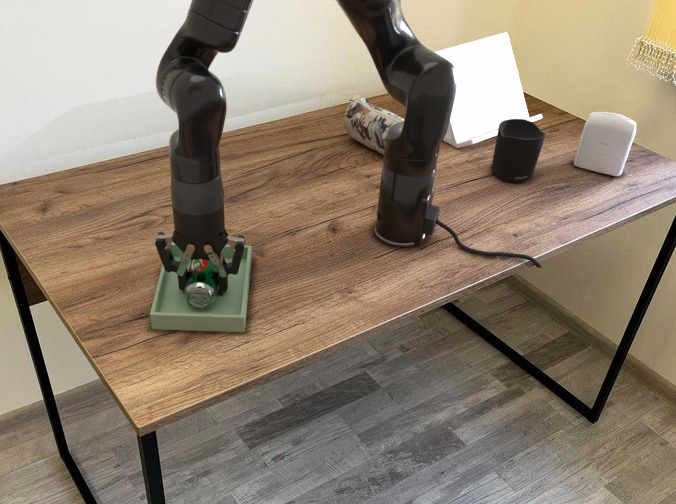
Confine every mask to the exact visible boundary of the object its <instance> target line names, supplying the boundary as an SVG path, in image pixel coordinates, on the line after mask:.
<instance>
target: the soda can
mask: <svg viewBox="0 0 676 504" xmlns="http://www.w3.org/2000/svg"><path fill="white" fill-rule="evenodd" d="M217 290H218V272H217V270H216V268H214V266H213V264H212V263H211V261H210V260H204V259H197V260H190V265H189V270H188V275H187V279H186V284H185V289H184V297H185V299H186V302H187V304H188V305H189V306H190V307H192V308H194V309H197V310H204V309H207V308H209V307H210V306H211V305H212V304H213V303H214V302H215V300H216V296H217Z"/></svg>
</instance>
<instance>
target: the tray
mask: <svg viewBox="0 0 676 504" xmlns="http://www.w3.org/2000/svg"><path fill="white" fill-rule="evenodd" d="M170 249H171V252H172V254H173V257H174V260H176V261H180V258H181V256H182V253H183V252H182V251H181V250H180V249H179V248H178V247H177V246H176V244H175V243H174V242H172V244H171V248H170ZM252 249H253V245H245V246H244V251H243V255H242V259H241V263H240V267H239V271H238V274H236V275H233V274H229V275H228V289H227V291H226V292H224V294H223V295H219V289H218V290H217V296H216V300H215V302H214V303H213V304H212V305H211V306H210V307H209V308H207V309H204V310H197V309H194V308H192V307H190V306H189V305H188V304H187V302H186V299H185V297H184V293H183V290H180V289H179V286H178V276H177V274H176V273H175V272H167V271H165V269H164V266H163V263H162V264H161V268H160V272H159V275H158V280H157V283H156V288H155V292H154V296H153V300H152V304H151V307H150V308H151V309H150V312H149V318H150V326H151V330H157V331H158V330H160V331H161V330H162V331H163V330H164V331H187V332H189V331H191V332H218V333H219V332H221V333H222V332H223V333H225V332H226V333H245V331H246V321H247V314H248V313H247V312H248V303H249V293H250V292H249V291H250V283H251V282H250V281H251V273H252V264H253V263H252V262H253V251H252ZM222 252H223V255H224V258H225V260H226V262H227V263H230V262H232V259H233V255H234V252H233V251H232V250H231V249H230V245H229V244H227V245H226V246H225V247H224V248H223V249H222ZM190 260H191V259H190ZM189 265H190V262H189V264H188V266H187V268H188V270H189Z"/></svg>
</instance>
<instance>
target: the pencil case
mask: <svg viewBox="0 0 676 504" xmlns="http://www.w3.org/2000/svg"><path fill="white" fill-rule="evenodd" d="M349 102H350V104H349V105H348V106H347V107H346V110H345V113H344V116H343V127H344V130H345V132H346V133H347V134H349V136H350V137H351V138H352V139H353V140H354V141H357V142H359V143H360V144H362V145H364V146H366V147H367V148H369V149H371V150H373V151H375V152H377V153H379V154H381V155H383V156H384V149H385V140H386V133H387V130H388V129H389V127H390V126H392V125H393V124H395V123H398V122H403V121H404V119H405V118H403V117H401V116H400V115H398V114H396V113H393V112H392V111H389V110H387V109H385V108H382V107H379V106H376V105H374V104H372V103H370V101H369V99H368V98H366V97H364V96H363V97H362V96H360V95H359V94H354V95H353V96H351V97H350V99H349Z"/></svg>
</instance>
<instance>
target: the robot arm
mask: <svg viewBox="0 0 676 504" xmlns="http://www.w3.org/2000/svg"><path fill="white" fill-rule="evenodd" d="M335 1H336V3H337V5H338V6H339V8H340V9H341V11H342V12H343V14H344V16H345V17H346V18H347V20H348V21H349V23H350V25H351V26H352V28H353V29H354V31H355V32H356V34H357V35H358V36H359V38H360V39H361V41H362V42H363V44H364V45H365V47H366V49H367V51H368V53H369V55H370V58H371V59H372V62H373V64H374V67H375V69H376V71H377V74H378V76H379V78H380V80H381V83H382V85H383V87H384V89H385V91H386V92H387V93H388V94H389V96H390V97H391V98H392V100H394V101H396V102H397V103H398V104H400V105H402V106H403V107H404V108H405V114H404V118H403V119H404V121H403V122H398V123H395V124H393V125H392V126H390V127H389V129H388V130H387V133H386V140H385V149H384V155H383V158H382V166H381V175H380V184H379V190H378V191H379V192H378V200H377V206H376V208H374V211H375V212H374V214H375V223H374V227H373V228H374V230H373V231H374V235H375V237H376V238H377V239H378V240H379V241H381V242H382V243H384V244H387V245H389V246H392V247H397V248H409V247H417V248H421V246H422V244H423V242H424V240H425V238H426V235H428V236H432V235H433V233H434V231H435V229H436V227H437V226H439V227H441V228H442V229H443V230H445V231H446V232H448V233H449V234H450V235H451V236H452V237H453V239H454V242H455V244H456V245H457V246H458V247H459V248H460V249H462V250H463V251H465V252H467V253H469V254H474V255H478V256H484V257H505V258H512V259H522V260H527V261H529V262H531V263H532V264H533V265H534V266H535V267H536V268H539V269H541V268H542V265H541V263H540V262H539V261H538V260H537V259H536V258H535V257H533V256H530V255H527V254H523V253H513V252H507V251H506V252H504V251H484V250H479V249H474V248H472V247H468V246H466V245H465V244H464V243H462V242H461V241H460V239H459V236H458V235H457V233H456V232H455V230H453V229H452V228H451V227H450V226H448V225H447V224H445V223H444V222H442V221H440V220H439V217H440V212H441V206H437V205H433V200H434V196H435V195H434V194H435V189H436V186H435V185H434V182H435V177H436V172H437V171H436V170H437V164H438V160H439V154H440V149H441V145H442V142H443V141H444V140H443V139H444V137H445V135H446V133H447V130H448V126H449V122H450V117H451V113H452V109H453V104H454V100H455V96H456V90H457V73H456V69H455V67H454V66H453V64H452V63H450V62H449V61H448V60H446V59H445V58H443V57H441V56H440V55H438V54H436V53H434V52H435V51H433V50H431V49H429V48H428V47H427V46H425V45H424V44H423V43H422V42H421V41H420V40H419V39H418V37H417V36H416V35H415V33H414V32H413V30H412V29H411V26H410V25H409V23H408V21H407V19H406V18H405V15H404V13H403V10H402V0H335ZM253 3H254V0H191V1H190V4H189V8H188V11H187V14H186V17H185V20H184V22H183V23H182V25H181V26H180V27H179V28H178V30H177V32H176V33H175V35H174V36H173V38H172V40H171V41H170V43H169V44H168V46H167V47H166V50H165V51H164V53H163V55H162V56H161V58H160V61H159V63H158V66H157V70H156V75H155V89H156V92H157V95H158V96H159V99H160V100H161V101H162V102H163V103H164V104H165V105H166V106H167V107H168V108H170V110H172V111H173V112H174V113H175V114H176V117H177V122H178V128H177V129H175V130H174V131H173V133H172V134H171V135H170V137H169V140H168V154H169V164H170V176H171V177H170V196H171V207H172V217H173V227H174V229H173V232H172V233H164V232H163V231H159V232H157V235H156V238H155V242H154V246H155V247H156V248H155V249H156V250H157V253H158V255H159V258H160V261H161V263H162V264H163V266H164V269H165V271H167V272H175V273H176V274H177V276H178V286H179V289H180V290H183V293H184V289H185V284H186V279H187V275H188V268H187V266H188V264H189V262H190V259H191V260H197V259H204V260H210V261H211V263H212V264H213V266H214V268H216V270H217V272H218V289H219V295H223V294H224V292H226V291H227V289H228V275H229V274H233V275H236V274H238V271H239V267H240V263H241V259H242V255H243V251H244V246H246V236H244V235H243V234H241V235H238V236H233V235H229V233H228V231H227V230H226V225H225V223H226V222H225V203H224V202H225V201H224V199H225V191H224V183H223V178H222V170H221V151H220V144H221V140H222V138H223V137H222V136H223V132H224V128H225V122H226V116H227V109H228V106H227V105H228V103H227V102H228V101H227V96H226V91H225V88H224V85H223V83H222V82H221V80H220V79H219V77H218V76H217V75H215V74H214V73H213V72H212V71H210V70H209V69H210V67H211V65H212V63H213V62H214V60H215V59H216V57H217V55H218V53H221V54H229V53H230V52H232V51H233V50H234V49H235V48H236V46H237V44H238V42H239V40H240V38H241V36H242V32H243V30H244V27H245V24H246V22H247V19H248V17H249V13H250V11H251V8H252V6H253ZM172 243H175V244H176V246H177V247H178V248H179V249H180V250H181V251H182V252H183V253H182V256H181V258H180V261H176V260H174V257H173V254H172V252H171V249H170V248H171V244H172ZM226 245H230V249H231V250H232V251H233V252H234V255H233V259H232V262H230V263H227V262H226V260H225V258H224V255H223V252H222V249H223V248H224V247H225V246H226Z"/></svg>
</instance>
